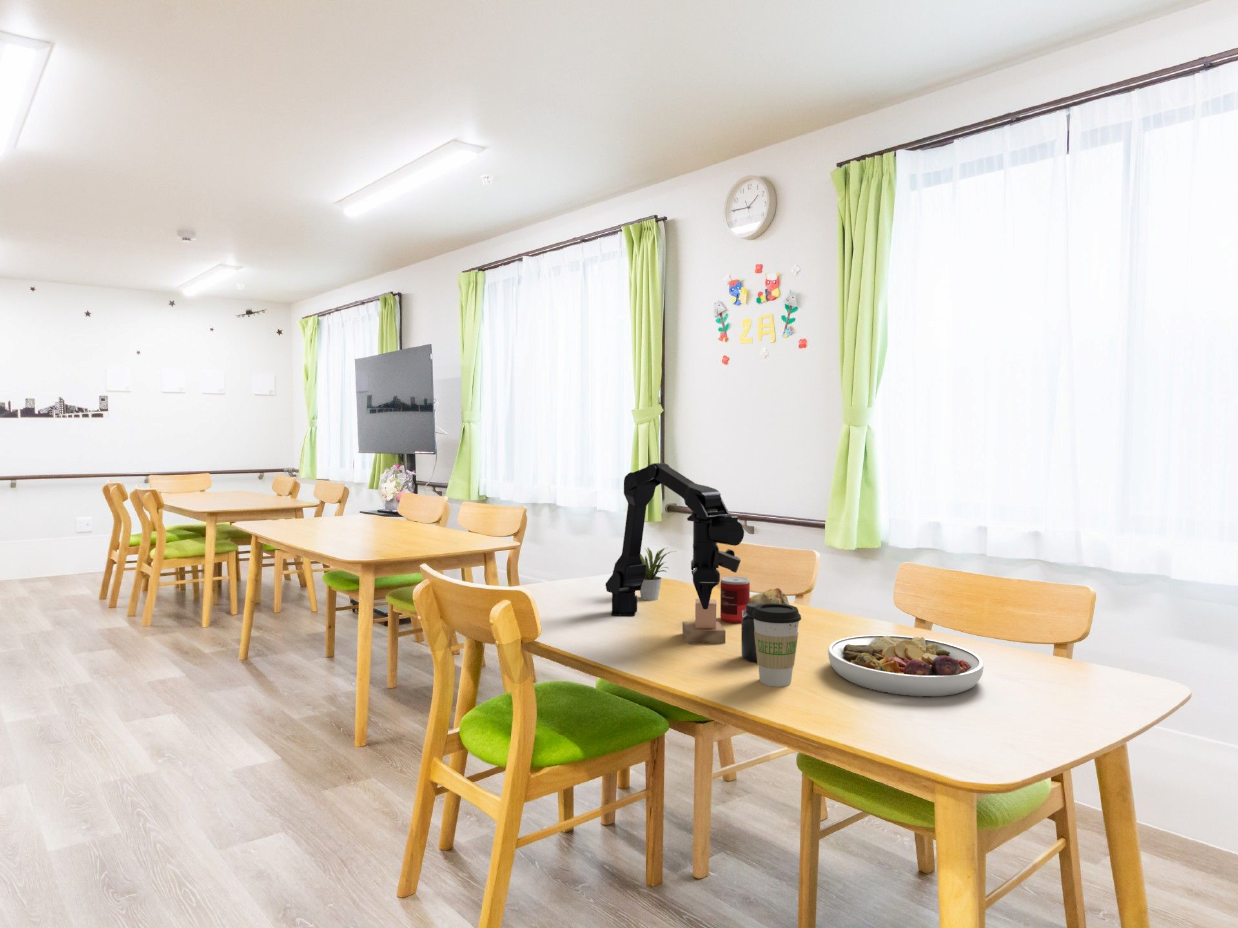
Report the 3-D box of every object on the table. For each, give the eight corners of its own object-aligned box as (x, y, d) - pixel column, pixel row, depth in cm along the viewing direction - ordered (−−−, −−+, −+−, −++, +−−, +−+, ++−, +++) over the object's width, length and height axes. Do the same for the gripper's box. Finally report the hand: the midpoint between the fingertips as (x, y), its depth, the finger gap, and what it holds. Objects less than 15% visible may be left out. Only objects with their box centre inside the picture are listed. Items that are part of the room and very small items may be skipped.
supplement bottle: (775, 656, 176) (776, 603, 176) (768, 664, 170) (768, 609, 169) (745, 652, 179) (746, 600, 178) (737, 660, 173) (737, 606, 172)
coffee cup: (771, 692, 152) (772, 615, 151) (740, 678, 160) (741, 605, 160) (810, 684, 156) (811, 610, 156) (779, 671, 165) (779, 600, 164)
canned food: (748, 616, 213) (748, 576, 213) (750, 624, 205) (750, 582, 205) (719, 616, 214) (720, 575, 213) (720, 623, 206) (721, 581, 205)
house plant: (681, 594, 241) (681, 541, 240) (674, 604, 227) (674, 548, 227) (635, 592, 244) (635, 540, 243) (625, 601, 231) (626, 546, 230)
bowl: (799, 664, 171) (800, 629, 171) (909, 650, 182) (909, 617, 182) (895, 710, 143) (895, 668, 143) (1017, 691, 154) (1018, 651, 154)
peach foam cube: (695, 627, 189) (695, 602, 189) (695, 622, 194) (695, 598, 194) (716, 628, 188) (716, 603, 188) (715, 623, 193) (716, 599, 193)
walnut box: (687, 645, 186) (687, 630, 186) (682, 635, 195) (682, 621, 195) (725, 644, 187) (725, 630, 187) (718, 635, 196) (718, 621, 196)
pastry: (802, 621, 209) (802, 591, 209) (759, 624, 205) (760, 594, 205) (776, 609, 222) (777, 581, 222) (736, 612, 219) (736, 583, 219)
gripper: (742, 546, 180) (741, 614, 181) (735, 536, 199) (734, 597, 199) (693, 546, 181) (692, 613, 181) (691, 535, 199) (690, 596, 200)
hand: (704, 604), depth 191 cm, fingers open, 9 cm apart
